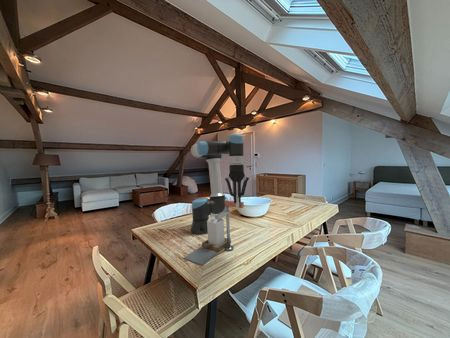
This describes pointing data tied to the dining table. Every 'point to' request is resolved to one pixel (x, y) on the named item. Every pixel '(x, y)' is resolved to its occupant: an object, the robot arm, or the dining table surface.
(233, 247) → the base
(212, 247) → the frame
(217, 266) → the dining table surface
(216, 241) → the milk carton
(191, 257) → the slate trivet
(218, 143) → the robot arm
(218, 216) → the signpost
